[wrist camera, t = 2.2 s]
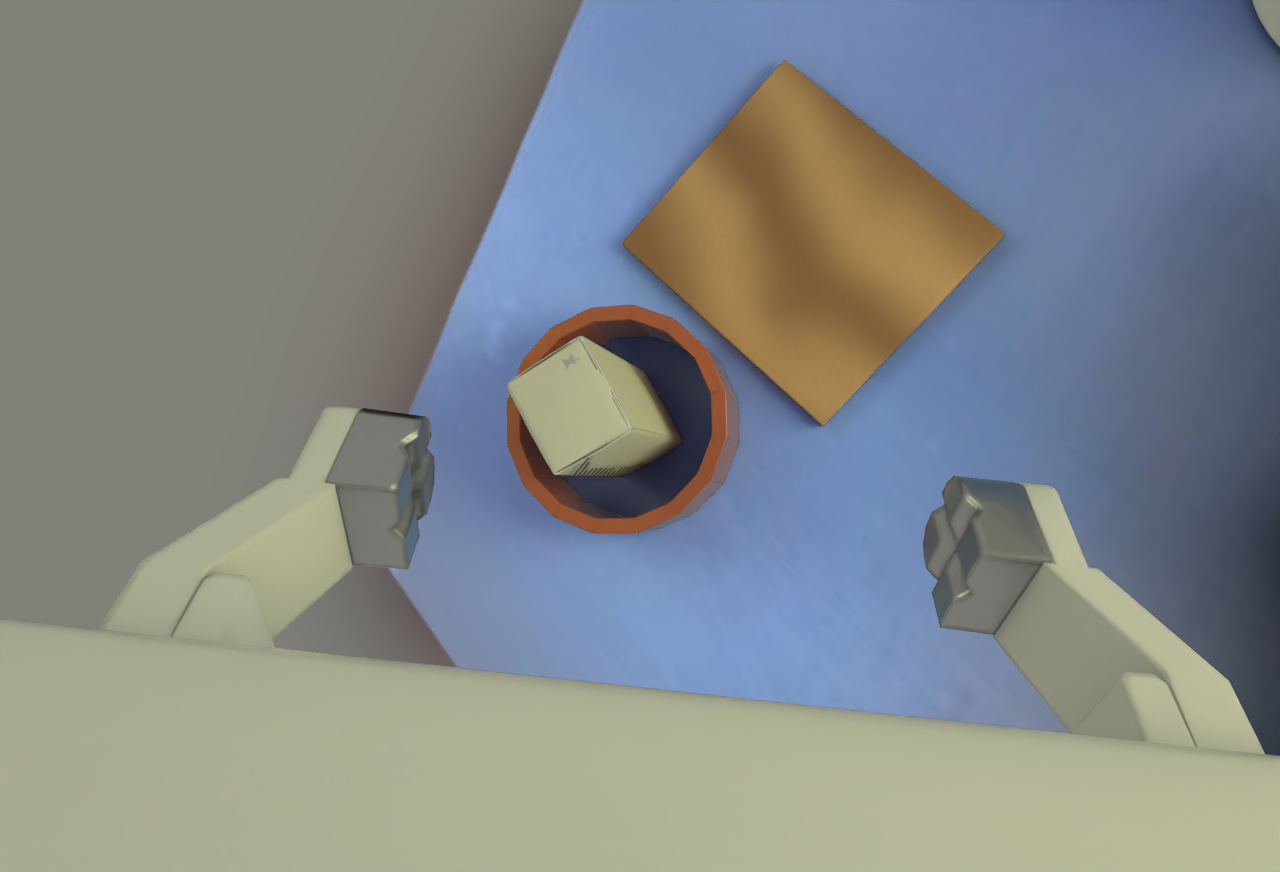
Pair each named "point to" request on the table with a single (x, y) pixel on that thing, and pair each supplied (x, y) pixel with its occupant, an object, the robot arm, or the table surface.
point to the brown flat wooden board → (810, 241)
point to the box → (592, 412)
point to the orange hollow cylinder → (554, 488)
